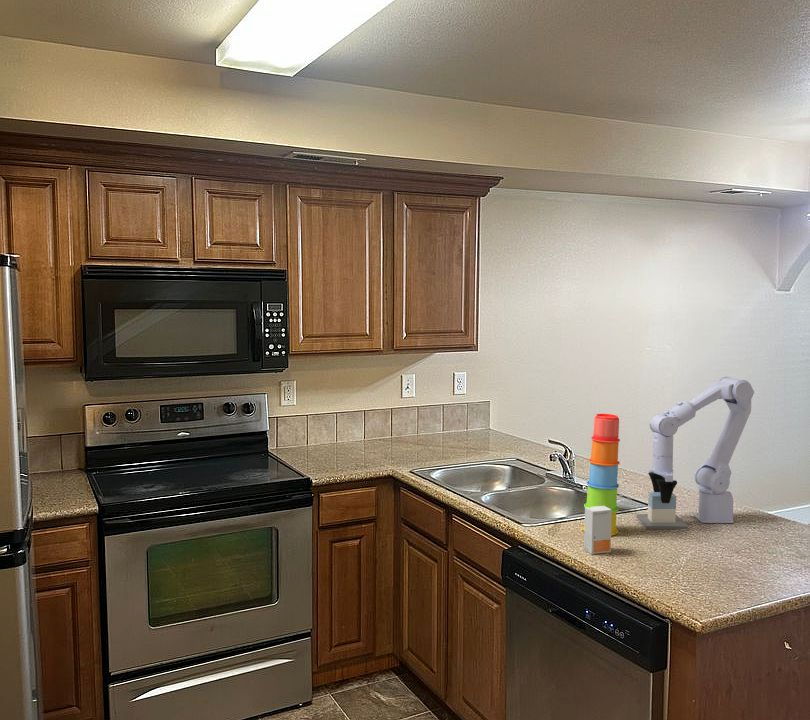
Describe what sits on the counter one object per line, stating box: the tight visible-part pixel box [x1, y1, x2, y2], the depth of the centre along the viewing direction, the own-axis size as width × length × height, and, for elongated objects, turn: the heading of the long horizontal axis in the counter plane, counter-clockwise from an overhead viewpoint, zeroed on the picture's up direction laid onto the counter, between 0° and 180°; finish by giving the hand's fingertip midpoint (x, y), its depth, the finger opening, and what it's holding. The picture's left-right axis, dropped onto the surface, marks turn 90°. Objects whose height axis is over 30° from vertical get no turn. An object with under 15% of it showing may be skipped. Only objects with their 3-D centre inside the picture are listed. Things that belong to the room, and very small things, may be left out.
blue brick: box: [647, 491, 677, 509], centre depth 231 cm, size 7×4×4 cm, turn 87°
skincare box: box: [583, 506, 612, 555], centre depth 207 cm, size 6×4×12 cm
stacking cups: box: [581, 413, 621, 537], centre depth 223 cm, size 10×10×35 cm
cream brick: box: [647, 505, 677, 522], centre depth 231 cm, size 7×4×4 cm, turn 87°
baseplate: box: [636, 513, 689, 531], centre depth 231 cm, size 12×12×1 cm
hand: (662, 499), depth 231 cm, fingers open, 7 cm apart
